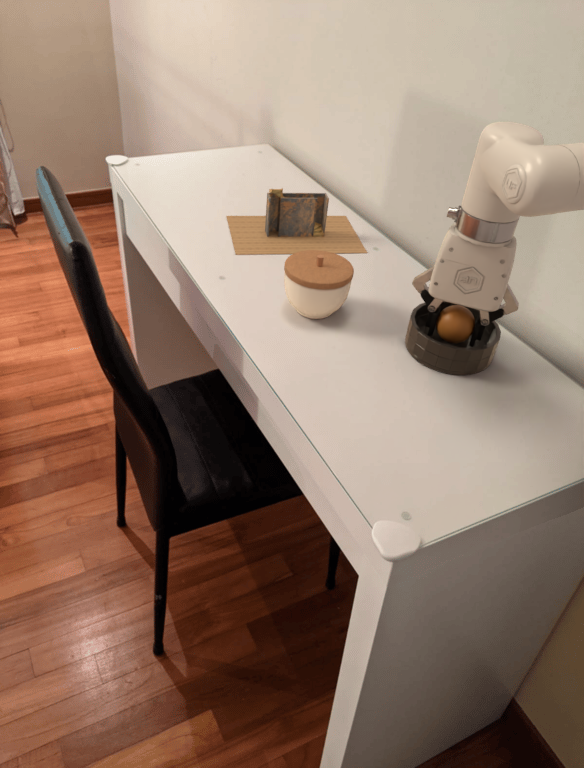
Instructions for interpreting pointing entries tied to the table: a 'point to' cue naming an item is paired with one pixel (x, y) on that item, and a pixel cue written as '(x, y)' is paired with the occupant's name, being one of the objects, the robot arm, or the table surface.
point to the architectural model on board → (293, 227)
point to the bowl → (450, 345)
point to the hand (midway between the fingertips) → (451, 335)
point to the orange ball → (455, 324)
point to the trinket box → (317, 282)
